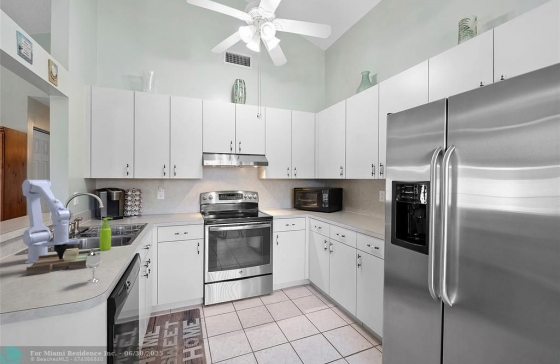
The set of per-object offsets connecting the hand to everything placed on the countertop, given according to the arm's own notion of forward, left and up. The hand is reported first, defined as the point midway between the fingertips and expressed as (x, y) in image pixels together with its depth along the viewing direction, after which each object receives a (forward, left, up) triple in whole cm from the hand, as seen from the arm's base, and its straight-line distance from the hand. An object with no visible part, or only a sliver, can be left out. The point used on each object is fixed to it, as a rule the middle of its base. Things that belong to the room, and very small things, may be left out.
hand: (61, 259), depth 126 cm
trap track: (0, +1, -3) cm, 3 cm away
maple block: (0, +4, -1) cm, 4 cm away
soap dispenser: (-23, +17, -4) cm, 29 cm away
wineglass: (+30, +16, -4) cm, 34 cm away
